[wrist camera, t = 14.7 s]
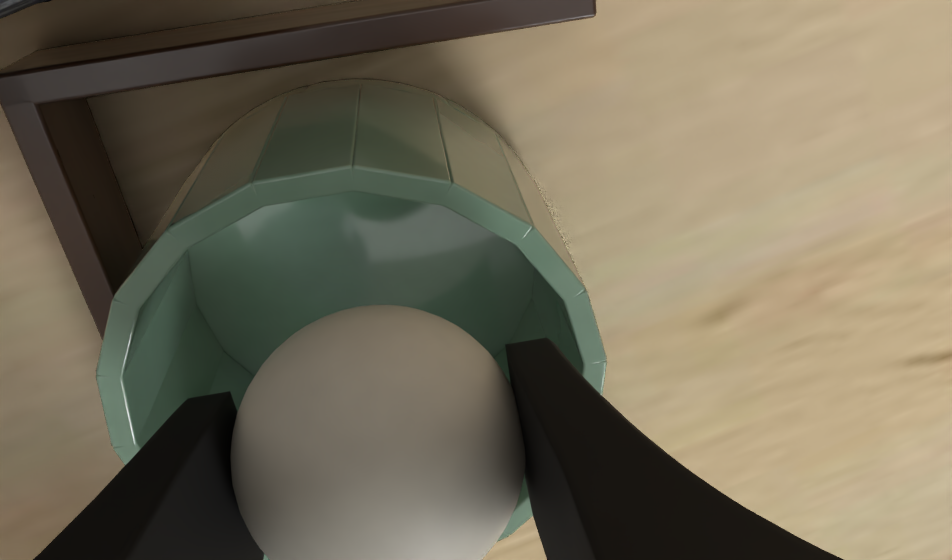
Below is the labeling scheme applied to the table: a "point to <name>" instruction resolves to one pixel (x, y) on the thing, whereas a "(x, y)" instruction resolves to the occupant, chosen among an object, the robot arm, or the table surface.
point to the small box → (16, 6)
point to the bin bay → (187, 59)
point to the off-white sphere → (378, 442)
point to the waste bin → (337, 249)
